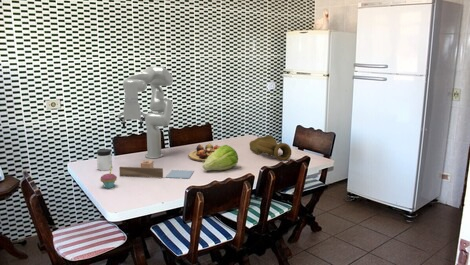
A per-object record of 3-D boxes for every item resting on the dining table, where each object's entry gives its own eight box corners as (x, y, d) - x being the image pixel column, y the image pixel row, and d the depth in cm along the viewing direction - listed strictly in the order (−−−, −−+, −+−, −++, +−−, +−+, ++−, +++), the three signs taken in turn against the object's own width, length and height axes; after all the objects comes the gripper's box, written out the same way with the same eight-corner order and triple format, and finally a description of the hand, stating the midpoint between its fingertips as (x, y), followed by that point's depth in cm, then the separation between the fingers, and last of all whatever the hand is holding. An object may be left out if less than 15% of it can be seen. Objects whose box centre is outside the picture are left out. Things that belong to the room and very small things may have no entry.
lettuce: (215, 182, 230) (202, 178, 243) (244, 162, 243) (230, 160, 256) (206, 161, 226) (193, 159, 239) (236, 142, 238) (222, 141, 251)
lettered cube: (144, 169, 239) (143, 160, 237) (153, 170, 238) (153, 160, 237) (141, 172, 233) (140, 163, 231) (150, 172, 232) (150, 163, 231)
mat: (171, 170, 236) (171, 169, 236) (193, 171, 235) (193, 170, 235) (165, 177, 223) (165, 176, 223) (189, 178, 222) (189, 177, 221)
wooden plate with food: (213, 166, 249) (213, 154, 247) (179, 157, 268) (178, 146, 266) (241, 156, 274) (242, 145, 272) (208, 149, 293) (208, 138, 291)
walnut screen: (120, 175, 226) (120, 166, 225) (163, 177, 224) (162, 168, 223) (119, 176, 225) (119, 167, 224) (162, 177, 223) (162, 169, 222)
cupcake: (118, 183, 212) (117, 163, 210) (114, 189, 204) (113, 167, 201) (103, 183, 212) (102, 163, 209) (98, 189, 203) (97, 167, 201)
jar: (94, 169, 238) (93, 150, 236) (105, 166, 245) (104, 148, 242) (104, 171, 234) (103, 152, 231) (114, 168, 241) (113, 150, 238)
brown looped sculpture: (280, 138, 289) (295, 140, 262) (275, 159, 288) (289, 163, 261) (252, 130, 282) (265, 131, 256) (247, 151, 282) (259, 154, 255)
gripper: (116, 101, 224) (117, 129, 227) (146, 101, 228) (147, 129, 231) (117, 100, 231) (118, 127, 234) (146, 100, 235) (146, 127, 239)
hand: (132, 128), depth 233 cm, fingers open, 9 cm apart
